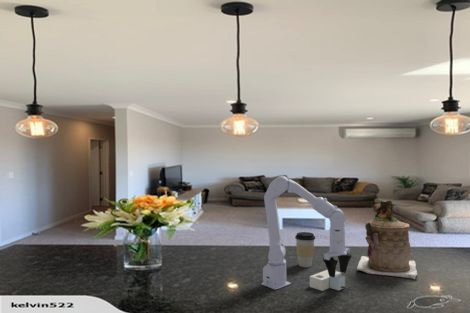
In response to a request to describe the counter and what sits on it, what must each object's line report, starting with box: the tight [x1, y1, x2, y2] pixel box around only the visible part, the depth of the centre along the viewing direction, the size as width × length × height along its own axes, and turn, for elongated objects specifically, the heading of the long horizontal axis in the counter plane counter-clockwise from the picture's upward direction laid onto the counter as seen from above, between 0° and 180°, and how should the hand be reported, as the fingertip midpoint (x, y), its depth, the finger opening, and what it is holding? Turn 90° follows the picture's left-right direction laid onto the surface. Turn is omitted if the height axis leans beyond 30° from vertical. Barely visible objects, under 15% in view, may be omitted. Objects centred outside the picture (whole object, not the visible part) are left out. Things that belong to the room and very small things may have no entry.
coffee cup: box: [294, 231, 316, 268], centre depth 173 cm, size 9×9×15 cm
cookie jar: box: [356, 199, 418, 280], centre depth 168 cm, size 25×25×32 cm
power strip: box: [309, 269, 343, 292], centre depth 150 cm, size 6×18×5 cm, turn 131°
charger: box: [329, 274, 350, 292], centre depth 144 cm, size 9×4×5 cm, turn 41°
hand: (337, 274), depth 144 cm, fingers open, 7 cm apart
